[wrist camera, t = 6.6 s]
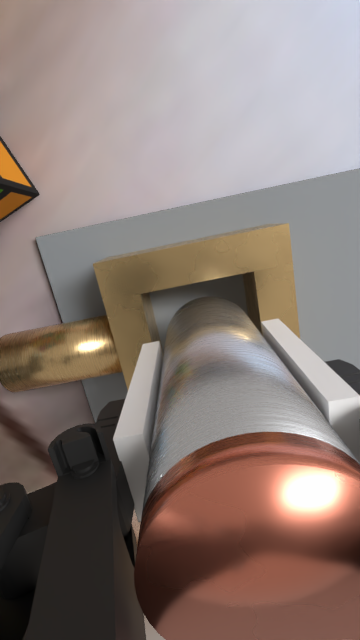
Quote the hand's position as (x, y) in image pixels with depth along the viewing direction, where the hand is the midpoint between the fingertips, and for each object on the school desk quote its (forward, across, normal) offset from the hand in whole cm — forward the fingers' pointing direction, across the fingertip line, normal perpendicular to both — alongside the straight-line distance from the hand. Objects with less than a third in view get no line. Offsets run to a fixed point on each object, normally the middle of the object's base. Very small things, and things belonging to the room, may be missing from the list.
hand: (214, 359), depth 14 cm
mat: (+7, +1, 0) cm, 7 cm away
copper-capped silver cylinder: (+3, 0, 0) cm, 3 cm away
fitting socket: (+7, -4, 0) cm, 8 cm away
